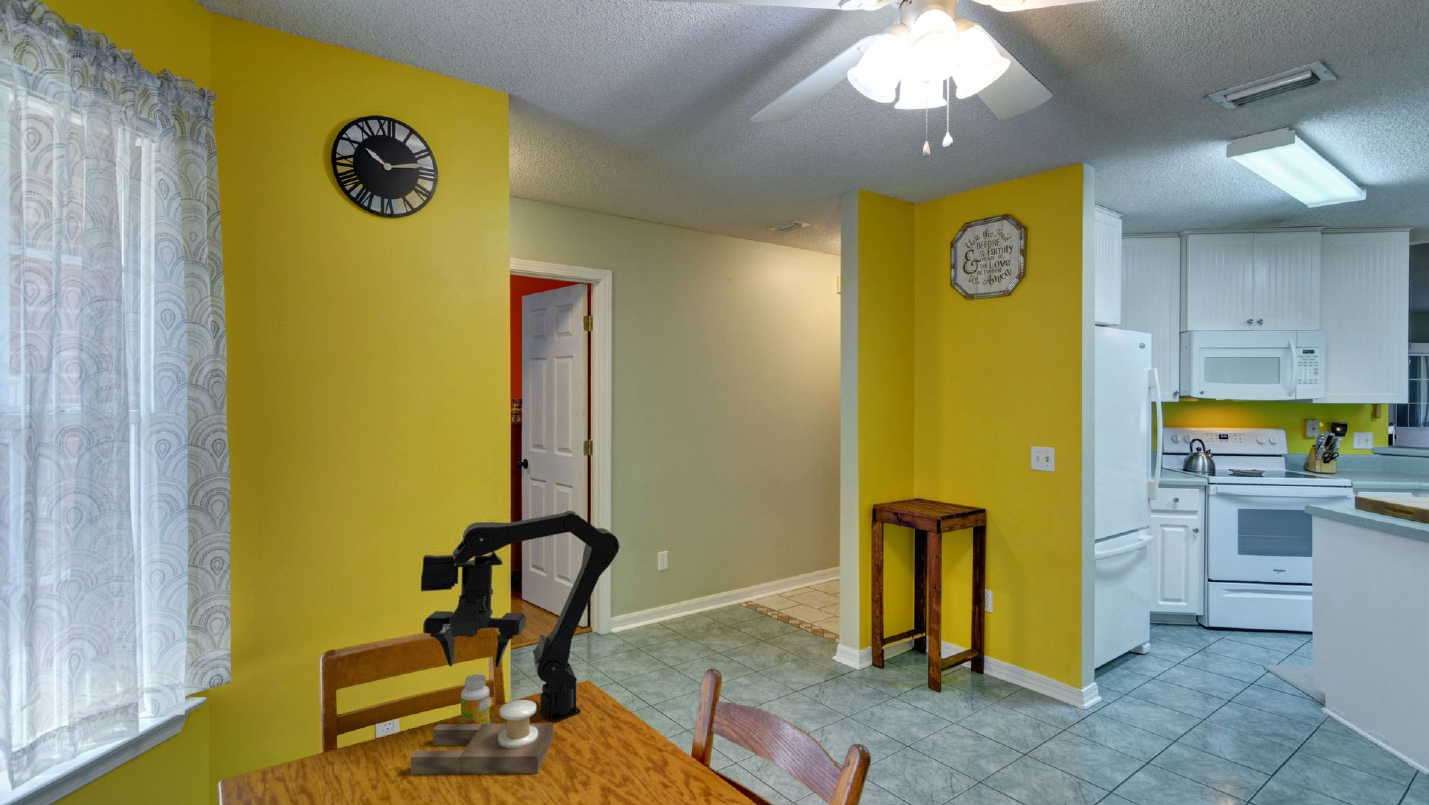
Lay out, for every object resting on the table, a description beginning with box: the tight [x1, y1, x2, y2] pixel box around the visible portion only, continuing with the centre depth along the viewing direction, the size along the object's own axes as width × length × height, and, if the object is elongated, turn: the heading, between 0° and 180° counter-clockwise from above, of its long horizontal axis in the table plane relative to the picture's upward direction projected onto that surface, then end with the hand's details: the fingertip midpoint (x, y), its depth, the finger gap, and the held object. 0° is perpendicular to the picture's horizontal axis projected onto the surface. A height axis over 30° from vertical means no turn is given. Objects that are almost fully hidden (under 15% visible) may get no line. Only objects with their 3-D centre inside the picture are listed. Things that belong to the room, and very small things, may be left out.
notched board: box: [410, 722, 554, 775], centre depth 124 cm, size 22×12×3 cm, turn 91°
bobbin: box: [498, 699, 538, 749], centre depth 124 cm, size 7×7×6 cm
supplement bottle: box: [460, 673, 490, 724], centre depth 136 cm, size 5×5×10 cm
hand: (474, 666), depth 135 cm, fingers open, 9 cm apart
